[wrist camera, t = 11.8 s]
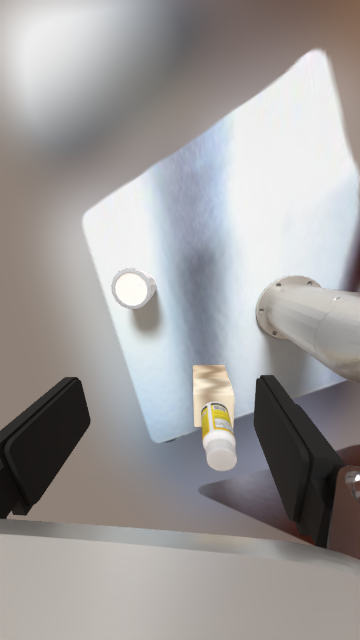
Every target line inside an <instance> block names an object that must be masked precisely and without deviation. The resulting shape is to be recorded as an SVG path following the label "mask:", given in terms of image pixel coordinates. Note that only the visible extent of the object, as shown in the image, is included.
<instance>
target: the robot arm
mask: <svg viewBox="0 0 360 640" xmlns="http://www.w3.org/2000/svg"><path fill="white" fill-rule="evenodd" d="M307 283H308V284H307ZM276 284H278V285H277V286H276ZM260 309H261V311H260ZM256 316H257V320H258V323H259V324H260V326H261V327H262V329H263V330H264V331H265V332H267V333H268V334H269V335H271V336H273V337H275V338H278V339H284V340H291V341H292V342H293V343H295V344H296V345H297V346H299V347H300V348H301V349H303V350H304V351H306V352H307V353H308V354H310V355H311V356H312V357H314V358H315V359H316V360H318V361H319V362H321V363H322V364H323V365H325V366H326V367H328V368H329V369H330V370H332V371H333V372H335V373H336V374H338V375H339V376H341V377H343V378H345V379H348V380H351V381H353V382H357V383H360V293H356V292H349V291H342V290H335V289H328V288H322V287H321V286H320V285H319V284H318V283H317V282H316V281H314V280H312V279H310V278H308V277H304V276H287V277H283V278H280V279H278V280H276V281H274V282H273V283H271V284H270V285H269V286H268V287H267V288H266V289H265V290H264V291H263V292H262V294H261V296H260V298H259V299H258V303H257V307H256ZM273 331H274V332H273ZM89 425H90V416H89V412H88V407H87V403H86V399H85V396H84V392H83V387H82V384H81V381H80V380H79V379H78V378H77V377H65V378H63V379H62V380H61V381H60V382H59V383H57V384H56V385H55V386H54V387H53V388H51V389H50V390H49V391H48V392H47V393H45V394H44V395H43V396H42V397H40V398H39V399H38V400H37V401H36V402H34V403H33V404H32V405H31V406H30V407H28V408H27V409H26V410H25V411H24V412H22V413H21V414H20V415H19V416H18V417H16V418H15V419H14V420H13V421H12V422H10V423H9V424H8V425H7V426H6V427H4V428H3V429H2V430H1V431H0V640H360V467H356V466H346V464H345V463H344V462H343V461H342V459H341V458H340V457H339V455H338V454H337V453H336V452H335V450H334V449H333V448H332V446H331V445H330V444H329V443H328V441H327V440H326V439H325V438H324V436H323V435H322V434H321V432H320V431H319V430H318V428H317V427H316V426H315V425H314V423H313V422H312V421H311V419H310V418H309V417H308V415H307V414H306V413H305V412H304V411H303V409H302V408H301V407H300V406H299V405H297V404H295V403H294V402H293V401H292V399H291V398H290V397H289V395H288V394H287V393H286V391H285V390H284V389H283V387H282V386H281V385H280V383H279V382H278V381H277V379H276V378H275V377H274V376H273V375H261V376H260V378H257V380H256V393H255V409H254V427H255V431H256V433H257V436H258V439H259V441H260V444H261V447H262V449H263V452H264V455H265V457H266V460H267V463H268V465H269V468H270V470H271V473H272V476H273V478H274V481H275V484H276V486H277V489H278V492H279V494H280V497H281V499H282V502H283V505H284V507H285V510H286V513H287V515H288V517H289V519H290V520H291V521H295V523H296V526H297V528H298V531H299V533H300V535H310V536H312V539H313V541H314V543H315V545H316V546H311V545H304V544H298V543H292V542H287V541H277V540H267V539H258V538H247V537H238V536H228V535H216V534H202V533H191V532H178V531H166V530H152V529H140V528H127V527H113V526H99V525H84V524H71V523H57V522H42V521H27V520H11V519H7V516H8V514H9V513H10V512H11V511H12V513H13V515H27V513H28V512H29V511H30V509H31V508H32V506H33V505H34V504H36V503H37V502H38V501H39V500H40V498H41V497H42V495H43V494H44V492H45V491H46V489H47V488H48V486H49V485H50V483H51V482H52V481H53V479H54V477H55V476H56V474H57V473H58V472H59V470H60V469H61V467H62V466H63V464H64V463H65V461H66V460H67V458H68V457H69V455H70V454H71V452H72V451H73V449H74V448H75V446H76V445H77V443H78V442H79V440H80V438H81V437H82V436H83V434H84V433H85V432H86V430H87V429H88V427H89Z"/></svg>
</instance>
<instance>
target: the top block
mask: <svg viewBox="0 0 360 640" xmlns="http://www.w3.org/2000/svg"><path fill="white" fill-rule="evenodd" d="M193 396H194V427H202V422H201V410H202V407H203V406H204V405H205V404H207V403H209V402H213V401H216V402H220V403H222V404H224V405H225V406H226V408H227V410H228V413H229V417H230V421H231V425H232V428H233V419H234V392H233V389H232V386H231V383H230V380H229V378H194V386H193Z"/></svg>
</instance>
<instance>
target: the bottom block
mask: <svg viewBox="0 0 360 640" xmlns="http://www.w3.org/2000/svg"><path fill="white" fill-rule="evenodd" d="M194 378H228V375H227V372H226V369H225V366H224V365H193V386H194Z"/></svg>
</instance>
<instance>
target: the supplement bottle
mask: <svg viewBox="0 0 360 640" xmlns="http://www.w3.org/2000/svg"><path fill="white" fill-rule="evenodd" d="M201 422H202V440H203V446H204V449H205V451H206V458H207V463H208V465H209V466H210V467H212V468H213V469H215V470H217V471H227V470H230V469H232V468H233V467H234V466H235V465H236V462H237V458H236V451H235V446H236V442H235V437H234V434H233V429H232V425H231V421H230V417H229V413H228V410H227V408H226V406H225V405H224V404H222V403H220V402H216V401H213V402H209V403H207V404H205V405H204V406H203V407H202V410H201Z"/></svg>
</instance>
